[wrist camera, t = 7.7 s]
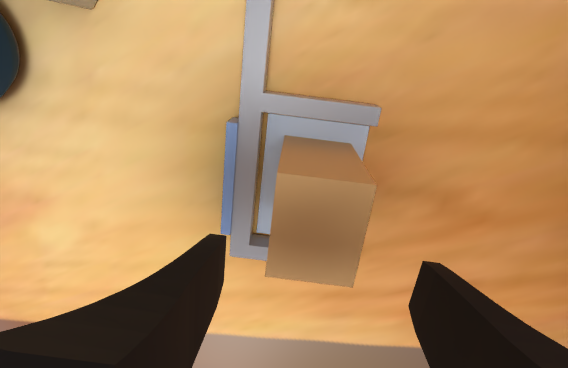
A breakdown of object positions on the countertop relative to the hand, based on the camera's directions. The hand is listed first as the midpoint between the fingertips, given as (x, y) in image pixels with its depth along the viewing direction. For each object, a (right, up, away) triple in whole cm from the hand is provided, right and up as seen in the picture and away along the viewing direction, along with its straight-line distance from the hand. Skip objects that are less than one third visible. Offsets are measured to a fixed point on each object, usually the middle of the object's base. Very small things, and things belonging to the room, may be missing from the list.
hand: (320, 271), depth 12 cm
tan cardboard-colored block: (0, +4, +8) cm, 9 cm away
